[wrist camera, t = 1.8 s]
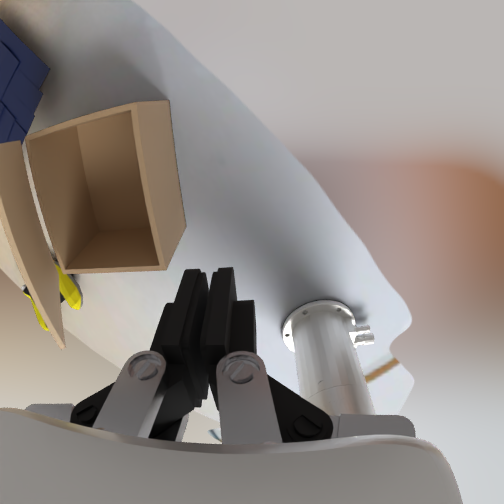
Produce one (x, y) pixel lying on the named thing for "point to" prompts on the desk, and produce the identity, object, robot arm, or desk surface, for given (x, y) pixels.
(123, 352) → the desk surface
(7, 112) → the folded navy cloth
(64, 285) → the gaming controller
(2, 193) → the flap
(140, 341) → the desk surface
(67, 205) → the carton
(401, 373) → the desk surface
